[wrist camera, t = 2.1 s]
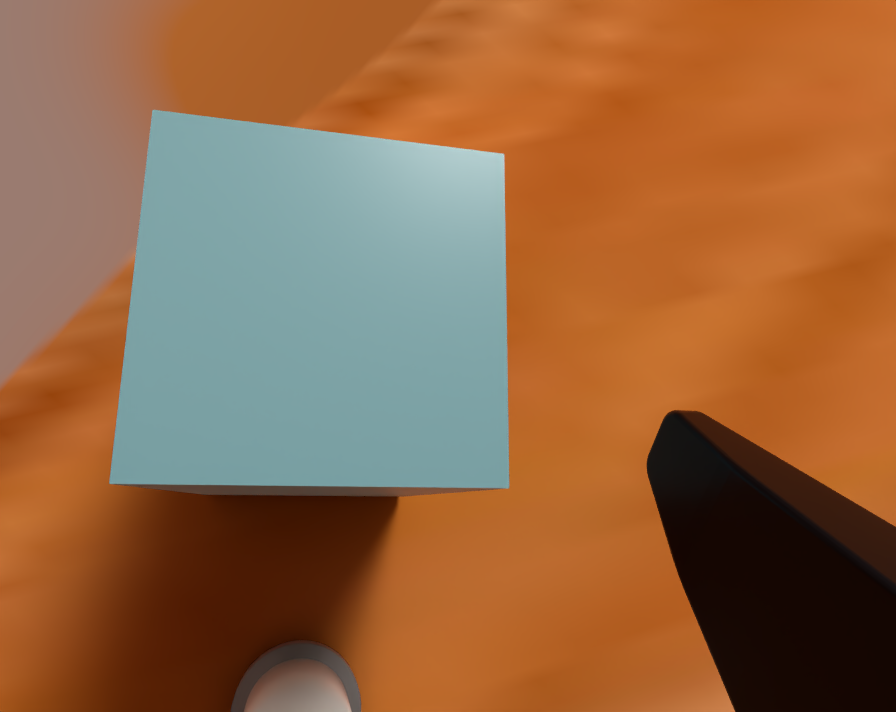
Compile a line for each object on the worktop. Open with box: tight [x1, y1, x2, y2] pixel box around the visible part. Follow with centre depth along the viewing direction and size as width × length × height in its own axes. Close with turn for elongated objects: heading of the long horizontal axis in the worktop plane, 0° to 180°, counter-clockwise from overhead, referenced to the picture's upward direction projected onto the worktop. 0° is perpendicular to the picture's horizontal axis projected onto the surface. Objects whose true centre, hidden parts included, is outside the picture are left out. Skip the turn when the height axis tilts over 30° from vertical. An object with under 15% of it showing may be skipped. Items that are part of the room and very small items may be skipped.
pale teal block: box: [109, 110, 509, 496], centre depth 13 cm, size 5×5×9 cm
